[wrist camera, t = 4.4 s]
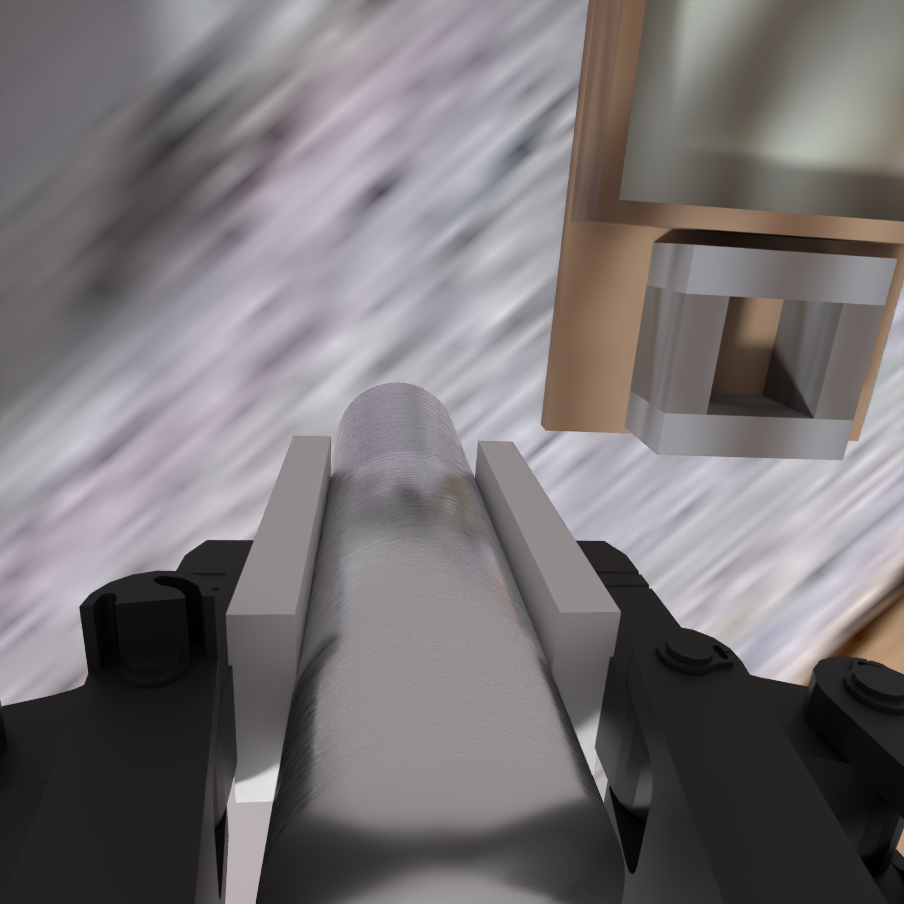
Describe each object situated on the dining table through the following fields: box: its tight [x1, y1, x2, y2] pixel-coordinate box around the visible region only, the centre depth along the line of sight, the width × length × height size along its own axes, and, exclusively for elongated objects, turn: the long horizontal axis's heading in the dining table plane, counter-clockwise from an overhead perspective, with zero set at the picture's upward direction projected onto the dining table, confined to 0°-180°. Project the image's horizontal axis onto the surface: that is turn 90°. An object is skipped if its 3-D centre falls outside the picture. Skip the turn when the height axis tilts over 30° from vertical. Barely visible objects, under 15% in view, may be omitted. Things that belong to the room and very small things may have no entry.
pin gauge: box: [256, 383, 625, 904], centre depth 12 cm, size 3×3×13 cm
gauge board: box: [541, 0, 904, 460], centre depth 26 cm, size 16×28×5 cm, turn 176°
